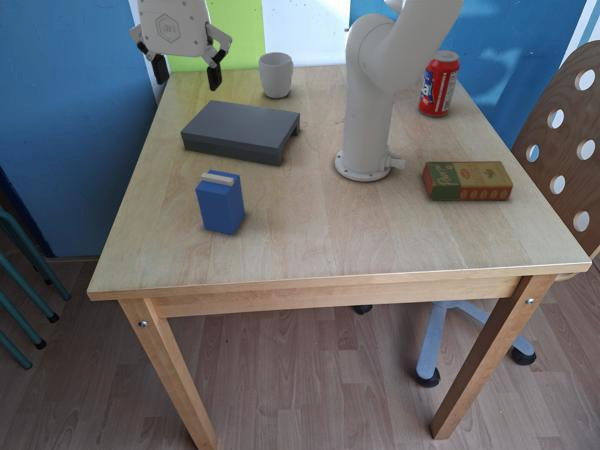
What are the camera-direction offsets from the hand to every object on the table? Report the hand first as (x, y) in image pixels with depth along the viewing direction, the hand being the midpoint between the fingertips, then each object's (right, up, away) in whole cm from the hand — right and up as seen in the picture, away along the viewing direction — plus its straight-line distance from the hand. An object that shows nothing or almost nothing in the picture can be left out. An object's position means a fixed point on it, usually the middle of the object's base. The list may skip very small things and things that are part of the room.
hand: (189, 84), depth 72 cm
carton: (+53, -16, +18) cm, 58 cm away
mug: (+13, +15, +51) cm, 54 cm away
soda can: (+54, +6, +41) cm, 68 cm away
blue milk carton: (+4, -23, +11) cm, 26 cm away
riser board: (+5, -3, +32) cm, 33 cm away
